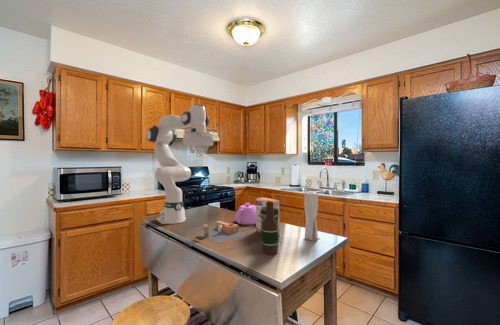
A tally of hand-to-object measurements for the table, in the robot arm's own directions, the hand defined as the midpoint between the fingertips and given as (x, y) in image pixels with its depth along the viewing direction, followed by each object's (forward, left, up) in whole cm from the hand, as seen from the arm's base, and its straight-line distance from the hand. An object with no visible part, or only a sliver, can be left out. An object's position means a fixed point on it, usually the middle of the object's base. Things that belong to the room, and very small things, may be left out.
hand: (198, 153), depth 148 cm
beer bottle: (+53, +3, -48) cm, 72 cm away
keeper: (+14, -5, -48) cm, 50 cm away
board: (+16, +3, -48) cm, 51 cm away
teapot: (+13, +32, -48) cm, 59 cm away
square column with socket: (+14, +9, -47) cm, 50 cm away
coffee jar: (+44, +14, -48) cm, 67 cm away
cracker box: (+36, +22, -48) cm, 64 cm away
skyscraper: (+58, +33, -48) cm, 83 cm away
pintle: (+17, +2, -48) cm, 51 cm away
